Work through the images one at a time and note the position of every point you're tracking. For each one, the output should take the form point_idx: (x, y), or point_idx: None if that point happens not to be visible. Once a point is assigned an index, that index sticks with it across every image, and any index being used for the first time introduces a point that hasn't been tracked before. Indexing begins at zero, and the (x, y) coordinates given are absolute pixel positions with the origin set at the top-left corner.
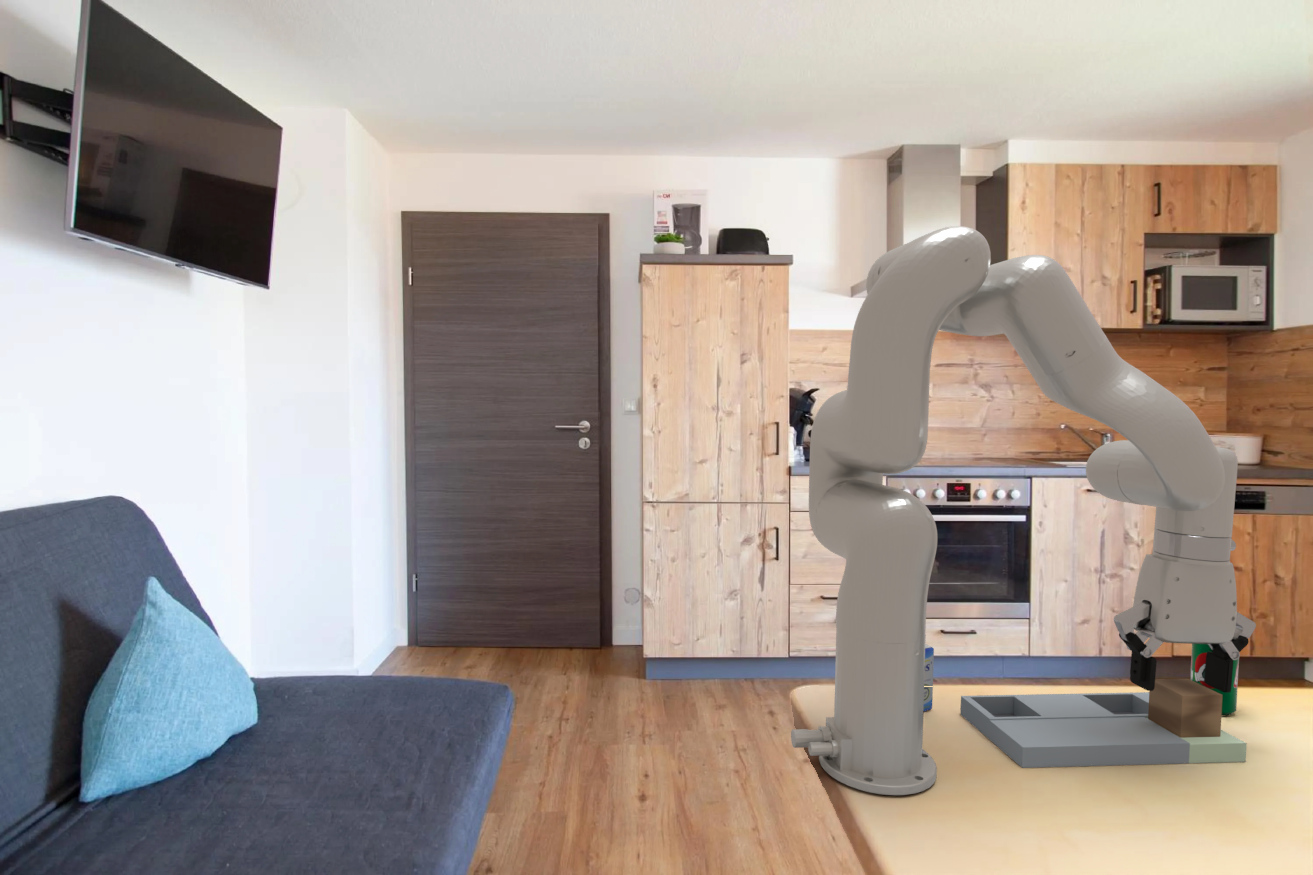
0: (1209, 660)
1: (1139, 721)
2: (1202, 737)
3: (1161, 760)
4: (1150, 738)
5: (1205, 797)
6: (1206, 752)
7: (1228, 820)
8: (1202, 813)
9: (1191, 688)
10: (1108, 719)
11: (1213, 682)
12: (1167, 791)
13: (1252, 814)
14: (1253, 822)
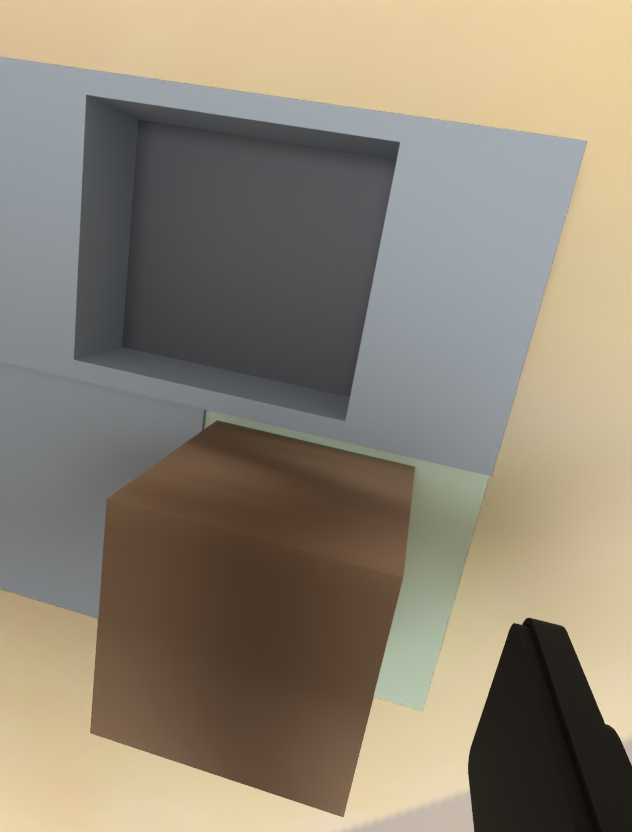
0: (545, 816)
1: (141, 440)
2: None
3: None
4: (62, 565)
5: (81, 724)
6: None
7: (48, 797)
8: (13, 759)
9: (245, 693)
10: (24, 383)
11: (496, 707)
12: (7, 671)
13: (128, 808)
14: (98, 824)
